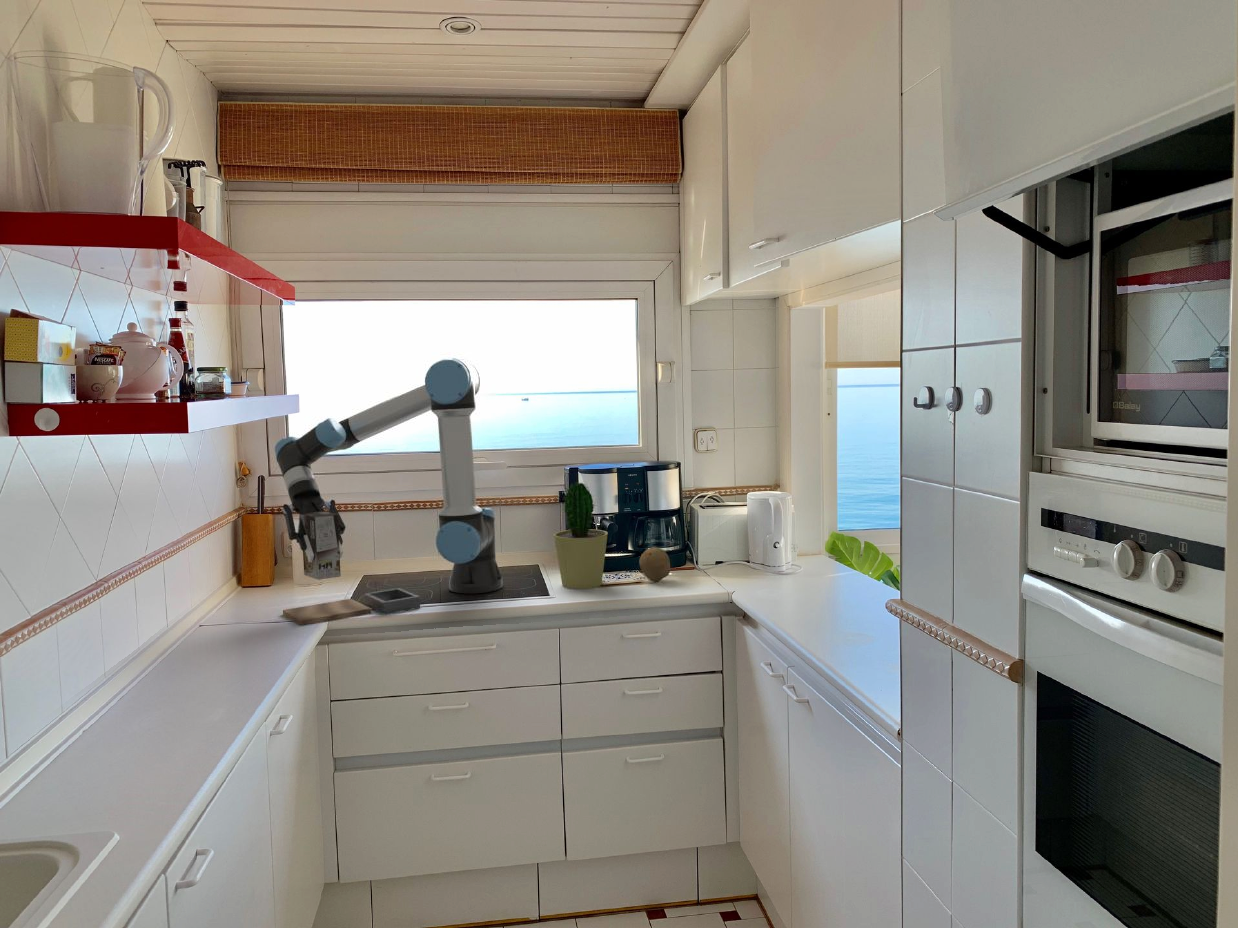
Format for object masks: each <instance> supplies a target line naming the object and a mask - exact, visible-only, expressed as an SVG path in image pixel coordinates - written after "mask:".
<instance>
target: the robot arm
mask: <svg viewBox="0 0 1238 928" xmlns="http://www.w3.org/2000/svg"><path fill="white" fill-rule="evenodd" d="M481 386H482V378H481V374H480V371H479V369H478V367H477V366H476V365H475V364H473V363H472V362H471V361H469V360H466V359H461V358H454V357H453V358H451V357H448V358H443V359H440V360H438V361H436V362H434V363H433V364H432V365H431V366H430V367H429V368H428V369H427V371H426V374H425V377H424V382H423V383H422V384H419V385H417V386H415V387H413V388H411V389H409V390H406V391H405V392H402V393H400V394H397V395H396V396H393V397H391V398H389V399H387V400H385V401H382V402H380V403H378V404H376V405H373V406H371V407H369V408H367V409H365V410H363V411H360V412H358V413H355V414H353V415H351V416H349V417H347V418H344V419H342V420H340V421H338V420H336V419H334V418H332V417H329V418H326V419H325V420H323V421H322V422H319V423H318V424H317V425H315V426H314V427H313V428H312V429H310V430H309V431H308V432H306V433H305V434H303V435H302V436H301V437H296V436H286V438H281V439H280V440H279V441H278V442H276V444H275V445H274V453H275V457H276V458H275V460H276V462H277V463H278V466H279V469H280V472H281V475H282V478H283V481H284V484H285V487H286V490H287V493H288V497H289V498H290V499H289V500H290V502H291V504H287V503H284V504H283V506H282V510H281V513H282V515H283V516H284V518H285V519H284V520H285V523H286V528H287V529H286V530H287V533H288V538H289V540H290V541H294V540H296V543H297V544H299V547H300V548H299V549H300V550H301V551H303V550H305V552H306V555H307V558H308V561H309V562H312V560H313V557H314V554H313V551H312V548H311V545H310V542H309V539H308V536H307V535H304V525H303V522H302V520H301V514H307V513H312V512H320V511H325V509H324V508H326V510H327V512H330V513H334V514H338V525H339V549H340V559H342V555H343V553H344V550H343V547H342V545H343V541H344V540H343V537H342V535H344V533H345V530H346V528H347V527H346V525H345V523H344V520H343V519H342V517H341V515H340V512H339V511H338V508H337V507H336V500H334V499H331V500H330V501H325V499H323V498H322V496H321V493H320V490H319V486H318V484H317V481H316V478H315V476H314V472H313V470H312V467H311V465H312V464H314V463H315V462H317V461H318V460H320V459H321V458H323V457H324V456H325V455H328V454H329V453H331V452H336V451H337V452H338V451H343V450H348V449H350V448H352V447H354V446H355V445H357V444H359V443H361V442H362V441H365V440H366V439H370V438H371V437H373V436H376V435H378V434H381V433H382V432H384V431H388V430H389V429H392V428H394V427H396V426H398V425H400V424H403V423H405V422H408V421H409V420H412V419H414V418H416V417H418V416H420V415H423V414H425V413H427V412H429V411H431V412H432V413H433V414H434V415H435V416H436V417H437V426H438V427H437V428H438V442H439V456H440V468H441V469H440V470H441V483H442V498H443V507H442V508H441V510H439V511H438V527H439V529H438V530H437V533H436V537H435V545H436V549H437V551H438V553H439V555H440V556H441V557H442V558H443V559H444V560H446V561H447V562H450V563H452V564H453V566H452V569H451V573H450V577H449V581H448V589H449V591H450V592H452V593H458V594H482V593H483V594H484V593H490V592H493V591H498V590H500V589H502V588H504V587H503V586H504V582H503V576H502V574H501V571H500V568H499V566H498V562H497V561H496V560H497V559H496V535H495V534H496V532H495V531H496V529H495V519H496V517H495V513H494V510H493V509H492V508H491V507H480V506H479V505H478V504H477V499H476V483H475V482H476V481H475V467H474V466H475V464H474V451H473V436H472V421H471V415H472V413H474V411H475V410H476V409H477V408H476V395H477V394H478V392H479V391H480V388H481ZM293 511H294V512H295V513H297V514H298V515H299V517H298V527H297V531H296V526H295V521H294V517H293V516H294V515H293ZM325 512H326V511H325ZM303 535H304V536H303Z"/></svg>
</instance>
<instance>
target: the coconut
mask: <svg viewBox="0 0 1238 928" xmlns="http://www.w3.org/2000/svg"><path fill="white" fill-rule="evenodd" d="M638 560H639V562H638V563H639V568H640V570H641V571H642V574H643V575H644V576H645V577H646V579H648V580H649V581H650V582H653V583H657V582H660V581H661V580H663V579H664V578H666V577H668V576H669V575H670V573H671V564H670V563H671V562H670V557H669V555H668V553H667V552H666V551H664V549H661V548H660V547H657V546H654V547H653V546H652V547H649V548H647V549H646V550H645V551H643V553H641V556H640V557H639V559H638Z"/></svg>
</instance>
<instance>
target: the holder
mask: <svg viewBox="0 0 1238 928" xmlns="http://www.w3.org/2000/svg"><path fill="white" fill-rule="evenodd" d="M420 598H421V597H420V595H417V594H415V593H411V592H410V591H407V590H404V589H402V588H400V587H397V588H391V589H386V590H380V591H379V590H378V591H372V592H368V593H367V592H366V593H364V594H363V599H364V601H363V603H364V604H363V605H365V606H367V607H369V608H371V610H374V611H377V612H379V613H380V614H383V615H387V614H392V613H398V612H403V611H409V610H410V611H411V610H415V609H421V599H420Z"/></svg>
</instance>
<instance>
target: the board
mask: <svg viewBox="0 0 1238 928" xmlns="http://www.w3.org/2000/svg"><path fill="white" fill-rule="evenodd" d="M371 613H372V608H370V607H368V606H366V605H364V604H363V603H360V602H358V601H357V600H354V599H353V598H348V599H347V598H346V599H342V600H334V601H329V602H323V603H315V604H310V605H305V606H299V607H294V608H293V607H292V608H286V609H283V610H282V615H283V616H285V617H286V618H288V619H289V620H291V621H293V622H294V623H296V624H298V625H299V626H306V625H312V624H316V623H323V622H328V621H333V620H338V619H339V620H340V619H345V618H350V617H355V616H356V617H357V616H360V615H362V616H363V615H367V614H371Z"/></svg>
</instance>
